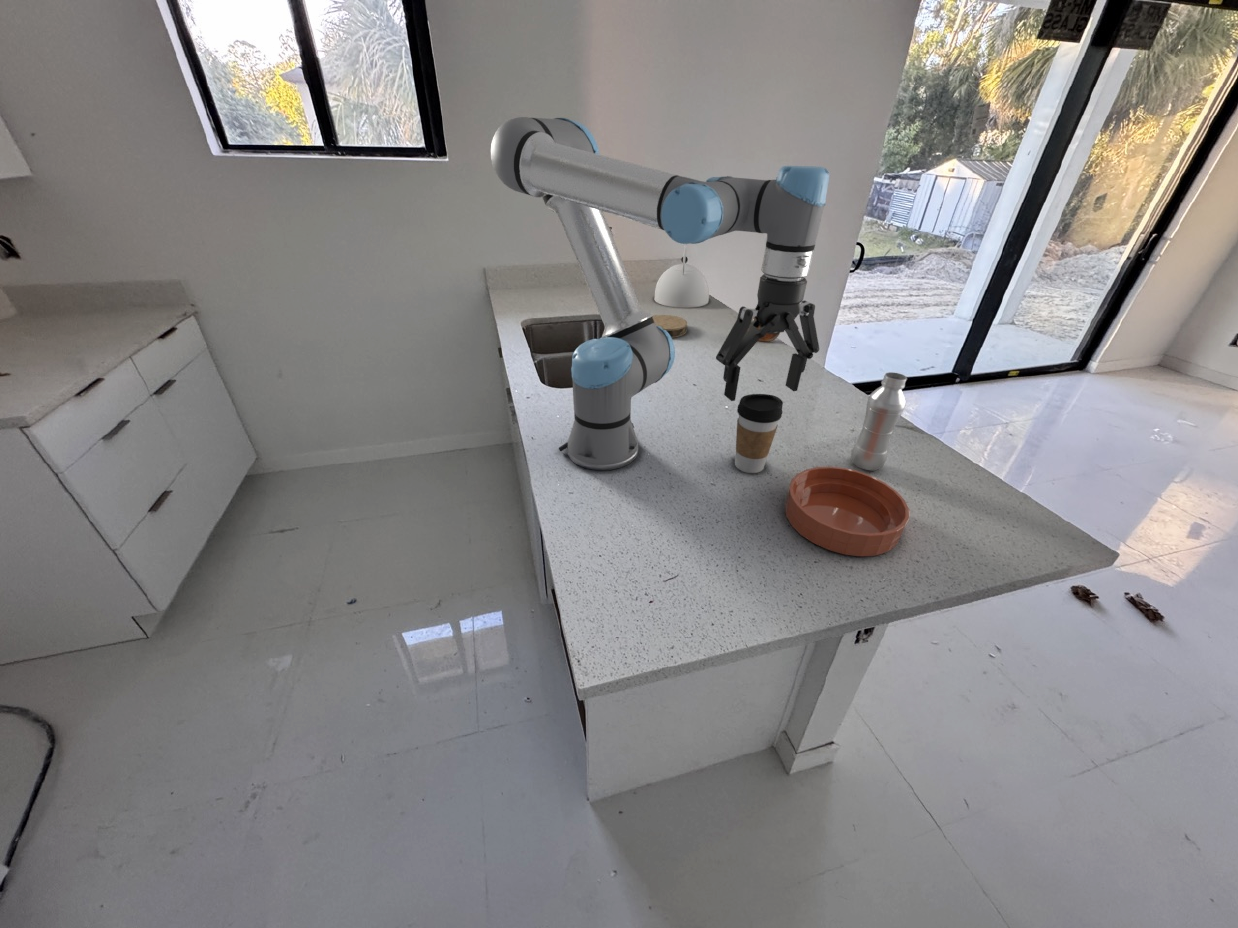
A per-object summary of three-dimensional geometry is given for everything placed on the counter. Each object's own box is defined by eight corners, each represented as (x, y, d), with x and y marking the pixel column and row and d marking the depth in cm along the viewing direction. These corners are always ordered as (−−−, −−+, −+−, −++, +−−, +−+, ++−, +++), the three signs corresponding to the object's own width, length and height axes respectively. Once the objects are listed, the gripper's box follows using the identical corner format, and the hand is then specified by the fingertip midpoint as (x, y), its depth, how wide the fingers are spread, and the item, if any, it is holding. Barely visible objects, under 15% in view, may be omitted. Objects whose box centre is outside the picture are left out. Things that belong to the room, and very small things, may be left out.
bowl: (832, 570, 77) (840, 547, 74) (763, 499, 92) (768, 477, 89) (925, 542, 82) (936, 520, 79) (845, 479, 97) (852, 459, 94)
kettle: (656, 290, 217) (659, 235, 204) (708, 292, 214) (714, 236, 202) (652, 306, 196) (654, 245, 183) (708, 308, 194) (715, 248, 181)
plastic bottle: (880, 478, 98) (914, 386, 86) (844, 467, 100) (873, 378, 89) (884, 463, 102) (918, 374, 91) (850, 453, 105) (879, 366, 94)
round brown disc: (681, 340, 163) (681, 331, 162) (635, 334, 168) (636, 326, 166) (690, 325, 176) (691, 317, 174) (648, 321, 180) (648, 313, 178)
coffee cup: (771, 479, 97) (786, 412, 89) (728, 474, 98) (738, 408, 90) (769, 456, 104) (782, 392, 95) (729, 452, 105) (739, 388, 97)
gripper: (729, 287, 74) (712, 411, 86) (861, 276, 81) (828, 392, 93) (705, 275, 79) (692, 393, 91) (830, 266, 86) (803, 376, 98)
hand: (760, 393), depth 92 cm, fingers open, 13 cm apart
